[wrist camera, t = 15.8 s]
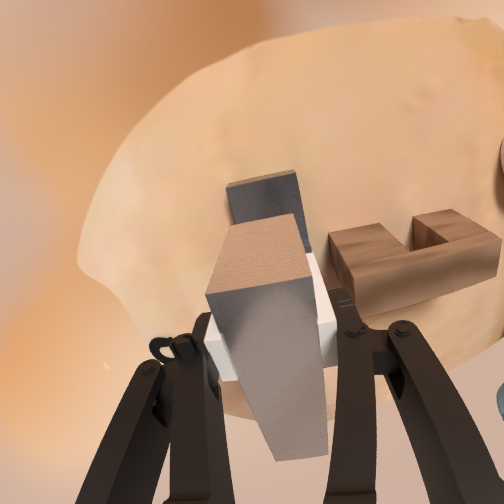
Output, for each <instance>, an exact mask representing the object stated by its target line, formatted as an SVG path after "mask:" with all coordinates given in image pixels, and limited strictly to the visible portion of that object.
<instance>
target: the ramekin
mask: <svg viewBox="0 0 504 504" xmlns="http://www.w3.org/2000/svg"><path fill="white" fill-rule="evenodd" d="M500 158H501V166H502V170H503V173H504V139H503V142H502V145H501V152H500Z"/></svg>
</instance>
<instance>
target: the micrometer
mask: <svg viewBox="0 0 504 504" xmlns="http://www.w3.org/2000/svg"><path fill="white" fill-rule="evenodd" d="M172 340H173V339H172V337H169V338H154V339H152V340H151V342H150V344H149V349H150V351H151V353H152V355H153V356H154V357H155V358H156V359H157V360H159V361H160V362H162V363H164V364H167V363H170V362H173V361H176V358H168V357H165V356H164V355H162V354H161V352H160V350H159V348H160V347H166V346H169V344H170V342H171V341H172Z"/></svg>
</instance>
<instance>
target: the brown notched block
mask: <svg viewBox="0 0 504 504" xmlns="http://www.w3.org/2000/svg"><path fill="white" fill-rule="evenodd" d="M413 237H414V242H413V249H414V250H415V251H412V252H410V251H409V250H408V249H407V248H406V247H405V246H404V245H403V244H401V243H400V242H399V241H398V240H397V239H396V238H395V237H394V236H393V235H392V234H391V233H390V232H389V231H387V230H386V229H385V228H384V227H383V226H382V225H381V224H380V223H377V224H372V225H367V226H361V227H356V228H351V229H346V230H341V231H336V232H331V233H329V239H330V247H331V255H332V263H333V268H334V270H335V272H336V274H337V277H338V279H339V281H340V283H341V286H342V288H344V289H345V290H347V291H348V292H349V293H350V295H351V297H352V300H353V302H354V304H355V306H356V308H357V311H358V313H359V315H360V318H365V317H369V316H373V315H377V314H381V313H385V312H389V311H392V310H396V309H400V308H403V307H407V306H410V305H414V304H417V303H420V302H424V301H427V300H430V299H434V298H437V297H440V296H443V295H446V294H449V293H452V292H455V291H458V290H461V289H464V288H466V287H469V286H472V285H475V284H477V283H480V282H483V281H485V280H488V279H491V278H493V277H496V274H497V269H498V263H499V257H500V251H501V244H502V239H501V238H499V237H498V236H496V235H495V234H493V233H492V232H490V231H488V230H487V229H485V228H484V227H482V226H480V225H479V224H477V223H475V222H474V221H472V220H470V219H468V218H467V217H465V216H463V215H461V214H460V213H458V212H456V211H454V210H452V209H448V210H443V211H438V212H433V213H428V214H423V215H417V216H413Z"/></svg>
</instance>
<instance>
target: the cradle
mask: <svg viewBox="0 0 504 504" xmlns="http://www.w3.org/2000/svg"><path fill="white" fill-rule="evenodd" d="M226 192H227V195H228V199H229V203H230V206H231V210H232V214H233V217H234V221H235V225H236V224H241V223H246V222H251V221H256V220H261V219H266V218H271V217H276V216H281V215H286V214H291V213H293V215H294V218H295V221H296V224H297V227H298V231H299V234H300V237H301V240H302V243H303V246H304V250H305V253H306V254H307V253H312V250H311V246H310V243H309V240H308V234H307V228H306V223H305V217H304V212H303V206H302V201H301V196H300V191H299V186H298V181H297V176H296V172H295V171H294V170H288V171H283V172H278V173H273V174H269V175H264V176H260V177H255V178H251V179H246V180H242V181H238V182H234V183H229V184H228V186H227V187H226Z"/></svg>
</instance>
